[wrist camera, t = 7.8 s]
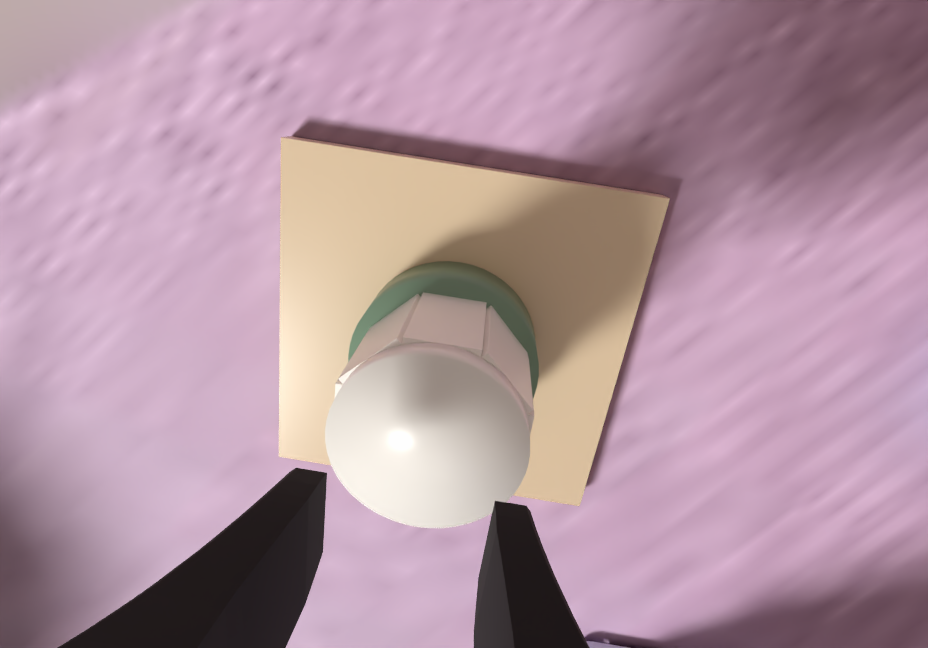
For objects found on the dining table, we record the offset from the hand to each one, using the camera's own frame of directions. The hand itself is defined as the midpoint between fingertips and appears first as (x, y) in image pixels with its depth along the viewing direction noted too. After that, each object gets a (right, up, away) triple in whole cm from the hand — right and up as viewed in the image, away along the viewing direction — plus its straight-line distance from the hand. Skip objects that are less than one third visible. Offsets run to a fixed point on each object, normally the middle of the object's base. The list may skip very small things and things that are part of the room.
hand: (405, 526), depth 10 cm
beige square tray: (+1, +4, +9) cm, 9 cm away
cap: (0, +2, +6) cm, 7 cm away
